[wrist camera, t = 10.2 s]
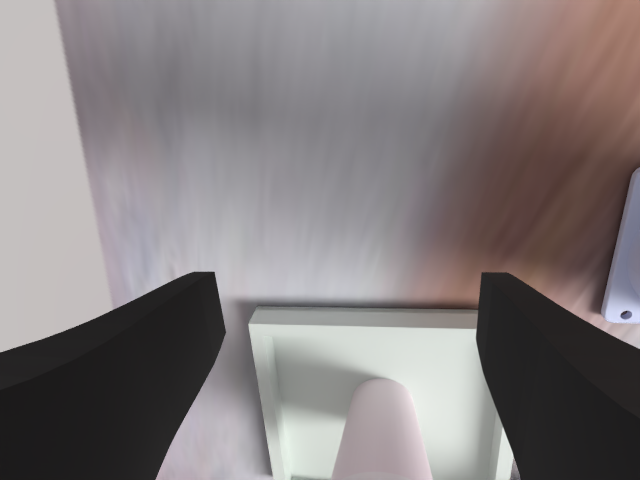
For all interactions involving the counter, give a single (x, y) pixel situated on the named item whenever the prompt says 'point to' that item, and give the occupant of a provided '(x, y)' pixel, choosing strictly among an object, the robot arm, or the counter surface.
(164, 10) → the counter surface
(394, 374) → the tray
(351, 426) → the smoothie
